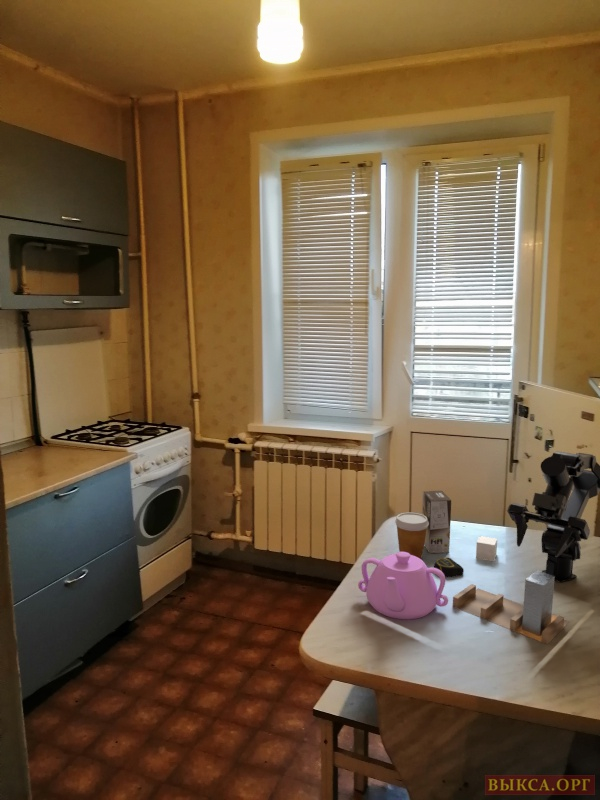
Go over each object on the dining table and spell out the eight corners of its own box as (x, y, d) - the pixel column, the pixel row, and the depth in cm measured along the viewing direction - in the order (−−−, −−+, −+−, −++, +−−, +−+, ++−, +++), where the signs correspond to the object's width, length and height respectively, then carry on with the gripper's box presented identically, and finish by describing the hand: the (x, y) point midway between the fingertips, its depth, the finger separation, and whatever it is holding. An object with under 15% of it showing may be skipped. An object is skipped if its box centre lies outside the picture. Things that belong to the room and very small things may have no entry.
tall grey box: (533, 619, 140) (536, 570, 138) (550, 625, 137) (554, 576, 135) (522, 629, 136) (525, 579, 134) (539, 636, 133) (543, 585, 131)
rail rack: (477, 591, 155) (478, 579, 155) (569, 625, 140) (570, 611, 139) (452, 610, 146) (453, 596, 146) (546, 648, 131) (548, 633, 130)
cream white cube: (478, 551, 179) (479, 535, 179) (496, 554, 177) (497, 538, 176) (475, 558, 175) (476, 542, 174) (493, 561, 173) (494, 545, 172)
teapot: (341, 625, 140) (342, 569, 138) (367, 583, 160) (368, 534, 157) (438, 645, 132) (441, 586, 130) (452, 599, 152) (454, 546, 149)
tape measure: (464, 579, 163) (465, 566, 162) (441, 582, 160) (442, 569, 160) (450, 568, 169) (451, 555, 168) (428, 571, 167) (429, 558, 166)
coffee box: (450, 552, 179) (452, 500, 176) (428, 553, 178) (430, 501, 175) (440, 540, 188) (442, 490, 185) (420, 540, 187) (421, 490, 184)
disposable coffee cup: (432, 555, 177) (433, 515, 175) (420, 567, 169) (421, 526, 167) (401, 547, 182) (403, 509, 180) (388, 559, 174) (389, 519, 172)
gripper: (512, 472, 155) (491, 526, 149) (589, 488, 143) (570, 547, 136) (522, 494, 162) (502, 546, 156) (597, 510, 150) (579, 567, 144)
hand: (536, 551), depth 148 cm, fingers open, 9 cm apart
